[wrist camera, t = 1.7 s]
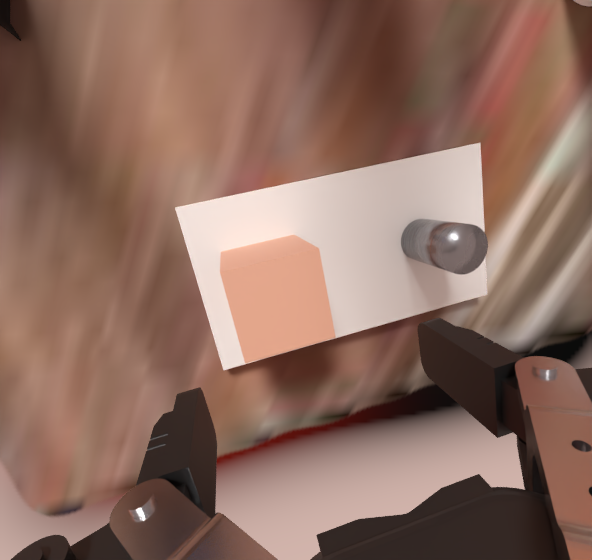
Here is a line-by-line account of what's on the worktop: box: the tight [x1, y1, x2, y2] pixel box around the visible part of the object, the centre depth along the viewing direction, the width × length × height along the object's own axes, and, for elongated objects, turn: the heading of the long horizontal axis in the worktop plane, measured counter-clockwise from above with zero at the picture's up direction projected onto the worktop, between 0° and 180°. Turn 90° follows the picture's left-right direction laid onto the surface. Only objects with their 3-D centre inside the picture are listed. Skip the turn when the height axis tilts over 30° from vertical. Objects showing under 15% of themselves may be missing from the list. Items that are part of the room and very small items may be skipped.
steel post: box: [401, 219, 488, 275], centre depth 25 cm, size 3×3×6 cm
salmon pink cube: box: [220, 235, 336, 363], centre depth 23 cm, size 6×6×7 cm
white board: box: [175, 143, 487, 370], centre depth 28 cm, size 24×13×2 cm, turn 102°
